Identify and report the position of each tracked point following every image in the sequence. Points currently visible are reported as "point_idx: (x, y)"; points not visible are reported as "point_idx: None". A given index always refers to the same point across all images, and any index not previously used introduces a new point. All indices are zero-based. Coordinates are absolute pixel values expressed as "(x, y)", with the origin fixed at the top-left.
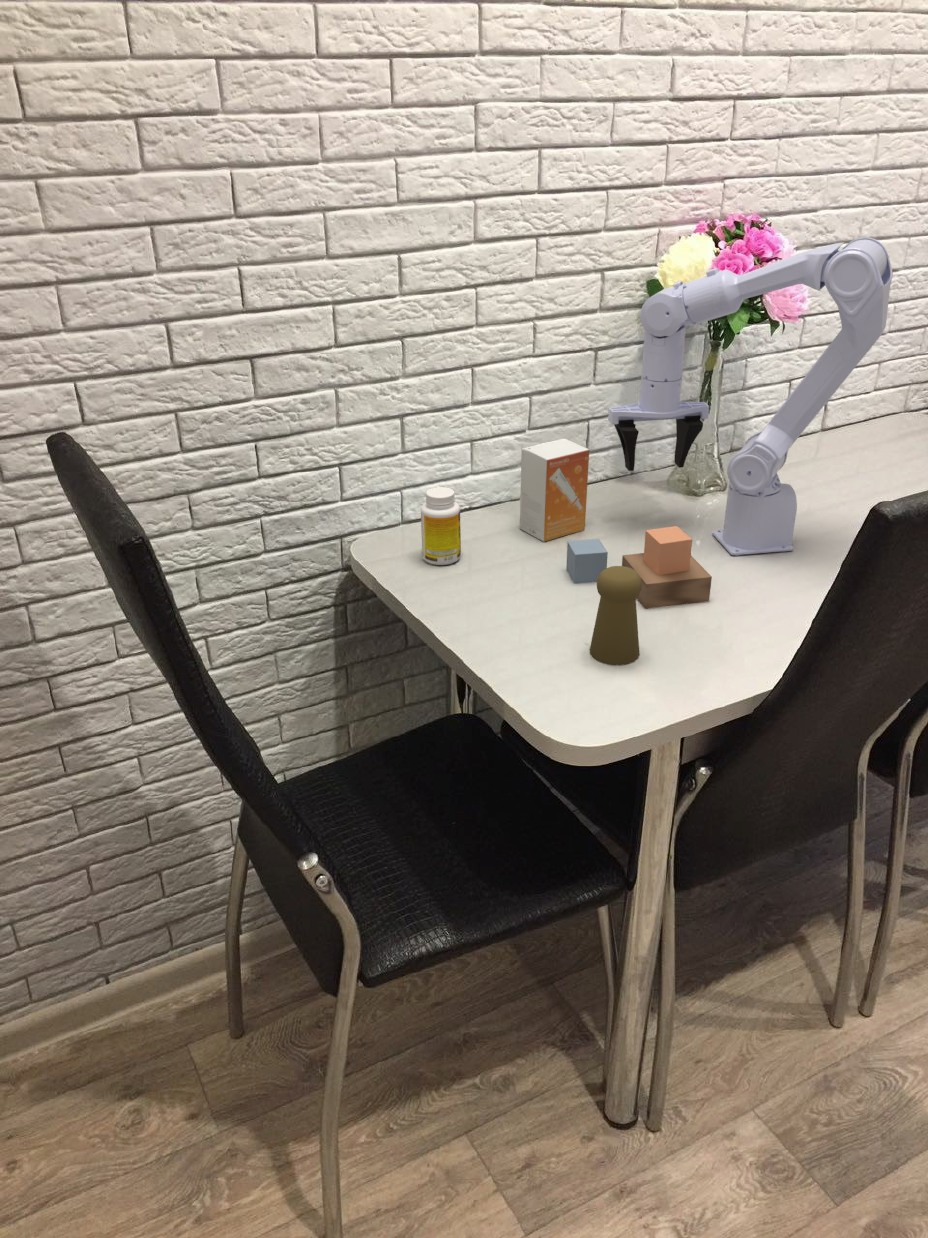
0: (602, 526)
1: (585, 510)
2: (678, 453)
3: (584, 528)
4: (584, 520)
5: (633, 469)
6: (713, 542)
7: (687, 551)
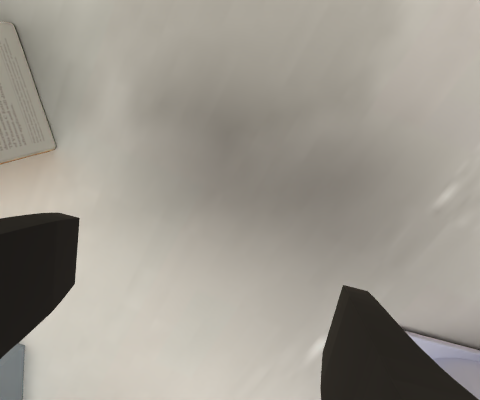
0: (115, 142)
1: (10, 161)
2: (337, 372)
3: (51, 150)
4: (32, 155)
5: (68, 289)
6: None
7: None
